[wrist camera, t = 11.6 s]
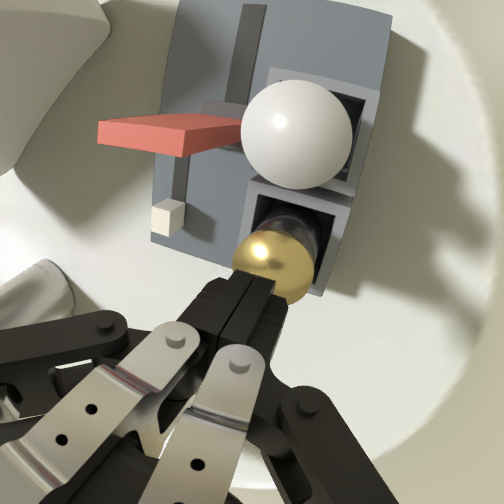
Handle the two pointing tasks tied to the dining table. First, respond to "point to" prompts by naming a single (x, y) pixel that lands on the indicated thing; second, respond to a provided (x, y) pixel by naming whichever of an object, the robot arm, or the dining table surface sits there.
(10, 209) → the dining table surface
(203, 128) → the red lever
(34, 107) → the rounded white slab
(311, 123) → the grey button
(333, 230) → the console
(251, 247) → the brass button
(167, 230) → the slider knob
